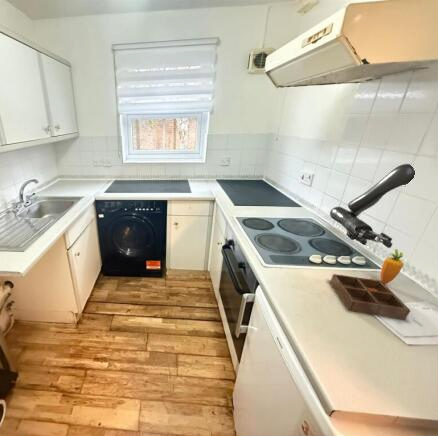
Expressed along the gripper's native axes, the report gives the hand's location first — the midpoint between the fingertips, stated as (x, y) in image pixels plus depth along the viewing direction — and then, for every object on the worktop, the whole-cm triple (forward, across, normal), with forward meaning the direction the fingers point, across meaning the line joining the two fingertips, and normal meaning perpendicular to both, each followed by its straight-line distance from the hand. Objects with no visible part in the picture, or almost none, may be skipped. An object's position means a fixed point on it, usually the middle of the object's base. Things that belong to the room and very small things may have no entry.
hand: (377, 244), depth 98 cm
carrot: (+11, 0, +12) cm, 16 cm away
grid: (+23, -12, +12) cm, 29 cm away
